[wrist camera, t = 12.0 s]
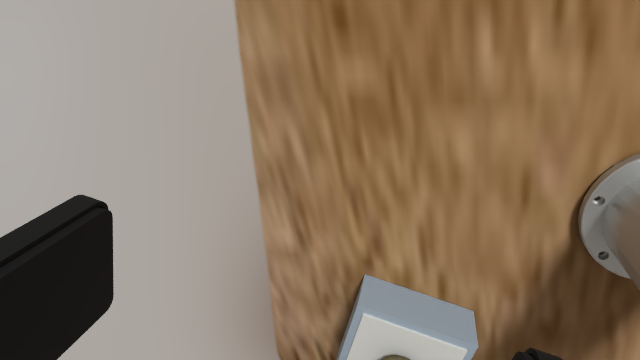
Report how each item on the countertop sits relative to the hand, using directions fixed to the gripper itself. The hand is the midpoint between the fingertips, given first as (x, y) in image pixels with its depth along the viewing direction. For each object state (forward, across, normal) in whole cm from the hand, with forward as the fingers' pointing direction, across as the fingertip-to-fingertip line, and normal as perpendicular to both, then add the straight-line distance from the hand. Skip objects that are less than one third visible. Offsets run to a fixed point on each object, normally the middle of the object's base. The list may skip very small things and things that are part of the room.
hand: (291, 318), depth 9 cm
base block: (+30, -9, +27) cm, 42 cm away
